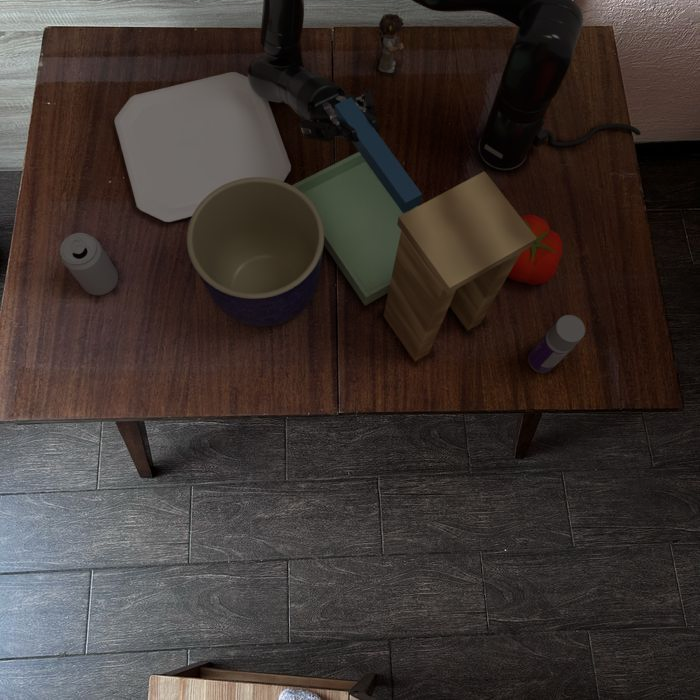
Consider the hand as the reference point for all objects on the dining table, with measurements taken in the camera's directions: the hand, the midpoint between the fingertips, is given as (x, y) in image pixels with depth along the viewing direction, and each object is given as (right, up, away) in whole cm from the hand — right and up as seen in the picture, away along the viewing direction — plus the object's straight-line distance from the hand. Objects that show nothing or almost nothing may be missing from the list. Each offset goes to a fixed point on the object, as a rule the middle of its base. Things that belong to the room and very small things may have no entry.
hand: (365, 131), depth 105 cm
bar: (+2, -4, +2) cm, 5 cm away
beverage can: (-46, -21, +16) cm, 53 cm away
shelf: (+12, -28, +16) cm, 34 cm away
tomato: (+29, -17, +20) cm, 39 cm away
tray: (+1, -11, +22) cm, 24 cm away
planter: (-17, -22, +17) cm, 33 cm away
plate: (-30, +5, +26) cm, 40 cm away
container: (+31, -35, +14) cm, 49 cm away
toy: (+5, +24, +34) cm, 42 cm away
